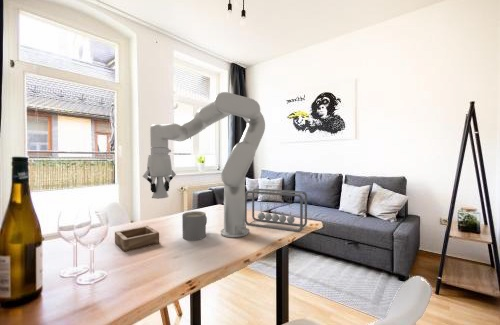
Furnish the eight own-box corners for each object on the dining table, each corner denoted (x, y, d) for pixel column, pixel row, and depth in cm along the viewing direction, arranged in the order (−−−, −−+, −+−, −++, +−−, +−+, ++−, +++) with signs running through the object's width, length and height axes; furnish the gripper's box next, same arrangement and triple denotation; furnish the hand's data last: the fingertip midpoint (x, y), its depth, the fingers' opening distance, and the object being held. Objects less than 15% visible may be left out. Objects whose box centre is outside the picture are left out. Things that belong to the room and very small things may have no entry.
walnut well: (159, 243, 98) (159, 232, 98) (124, 252, 89) (124, 240, 89) (147, 235, 107) (147, 225, 107) (114, 242, 99) (114, 231, 98)
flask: (171, 196, 114) (170, 175, 114) (164, 199, 107) (163, 176, 107) (156, 196, 115) (156, 175, 115) (148, 199, 108) (148, 176, 108)
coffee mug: (192, 242, 100) (192, 217, 99) (177, 237, 105) (177, 214, 105) (215, 233, 110) (215, 211, 110) (201, 229, 116) (201, 209, 116)
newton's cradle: (307, 226, 121) (307, 191, 120) (302, 233, 111) (302, 194, 111) (252, 220, 134) (252, 188, 133) (244, 224, 124) (244, 190, 124)
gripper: (173, 152, 119) (174, 189, 119) (137, 151, 107) (137, 192, 108) (180, 151, 113) (181, 190, 114) (142, 151, 102) (143, 194, 102)
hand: (160, 191), depth 111 cm, fingers closed on flask, 5 cm apart
